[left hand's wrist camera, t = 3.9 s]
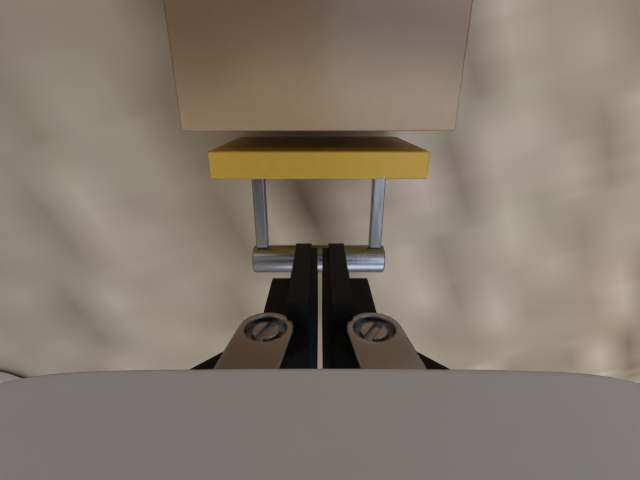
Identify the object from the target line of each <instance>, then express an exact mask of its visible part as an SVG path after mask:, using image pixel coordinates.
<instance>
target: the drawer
mask: <svg viewBox="0 0 640 480" xmlns="http://www.w3.org/2000/svg"><path fill="white" fill-rule="evenodd" d="M207 154H208V162H209V171H210V178H211V179H252V190H253V203H254V217H255V231H256V244H257V245H256V246H254V249H253V257H252V262H253V269H254V271H255V272H292V267H293V261H294V255H295V249H296V245H269V236H268V219H267V202H266V185H265V179H372V192H371V210H370V228H369V245H344V249H345V255H346V261H347V267H348V272H383V271H384V267H385V251H384V247H383V246H382V245H381V237H382V223H383V209H384V194H385V180H386V179H426V178H427V171H428V162H429V151H426V150H424V149H422V148H420V147H417V146H415V145H413V144H411V143H408V142H406V141H404V140H401V139H399V138H397V137H241V138H238V139H236V140H234V141H231V142H229V143H227V144H224V145H222V146H220V147H218V148H215V149H213V150H211V151H208V153H207ZM312 248H318V272H322V248H328V245H312Z"/></svg>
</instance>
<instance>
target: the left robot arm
mask: <svg viewBox="0 0 640 480" xmlns="http://www.w3.org/2000/svg"><path fill="white" fill-rule="evenodd" d="M317 346H318V248H312V244H296V249H295V255H294V261H293V267H292V272H291V278H273V280H272V283H271V287H270V291H269V295H268V298H267V302H266V306H265V309H264V313H261V314H256V315H254V316H251V317H249V318H247V319H246V320H244V321H243V322H242V323H241V325H240V326H239V327H238V329H237V331H236V332H235V334H234V336H233V337H232V339H231V340H230V342H229V344H228V345H227V347H226V349H225V350H224V352H222V353H220V354H218V355H216V356H214V357H212V358H211V359H209V360H207V361H205V362H203V363H201V364H199V365H197V366H195V367H194V368H192V369H190V370H130V371H99V372H74V373H61V374H49V375H42V376H35V377H28V378H20V377H17V376H15V375H12V374H9V373H4V372H0V480H640V383H636V382H632V381H627V380H622V379H617V378H612V377H606V376H598V375H590V374H580V373H565V372H543V371H507V370H450V369H448V368H446V367H445V366H443V365H441V364H439V363H437V362H435V361H433V360H431V359H429V358H428V357H426V356H424V355H422V354H420V353H418V352H416V350H415V349H414V347H413V345H412V344H411V342H410V340H409V339H408V337H407V336H406V334H405V332H404V331H403V329H402V327H401V326H400V325H399V323H398V322H397V321H396V320H394V319H393V318H391V317H389V316H386V315H384V314H379V313H376V309H375V306H374V302H373V298H372V295H371V291H370V287H369V283H368V280H367V278H349V272H348V267H347V261H346V255H345V249H344V244H328V248H322V346H323V369H317Z"/></svg>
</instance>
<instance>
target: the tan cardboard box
mask: <svg viewBox="0 0 640 480" xmlns="http://www.w3.org/2000/svg"><path fill="white" fill-rule="evenodd" d="M472 3H473V0H164V7H165V14H166V22H167V29H168V36H169V43H170V50H171V57H172V64H173V71H174V79H175V86H176V93H177V100H178V107H179V114H180V121H181V128H182V130H183V131H454V130H455V127H456V119H457V112H458V105H459V97H460V90H461V83H462V76H463V68H464V61H465V54H466V46H467V39H468V32H469V24H470V17H471V10H472Z"/></svg>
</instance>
